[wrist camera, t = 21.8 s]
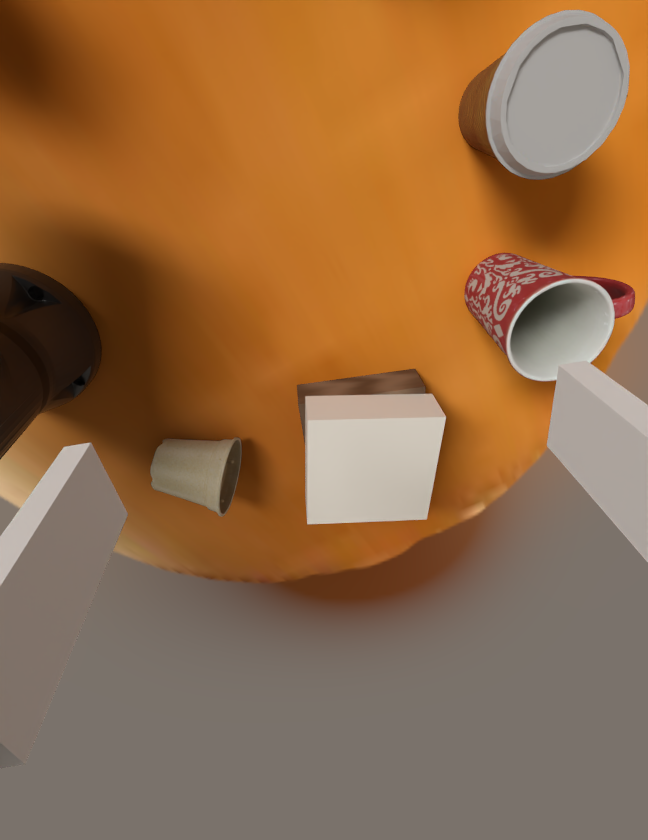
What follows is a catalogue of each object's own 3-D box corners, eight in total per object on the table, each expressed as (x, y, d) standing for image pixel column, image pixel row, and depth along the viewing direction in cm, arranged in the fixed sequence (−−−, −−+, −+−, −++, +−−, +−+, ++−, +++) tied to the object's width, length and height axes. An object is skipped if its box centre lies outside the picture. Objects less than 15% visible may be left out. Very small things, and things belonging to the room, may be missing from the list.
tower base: (312, 475, 61) (314, 500, 57) (297, 383, 54) (298, 404, 49) (414, 460, 61) (424, 484, 57) (414, 367, 54) (425, 386, 49)
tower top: (305, 495, 56) (307, 524, 52) (305, 396, 49) (307, 420, 45) (416, 491, 57) (426, 519, 53) (432, 393, 50) (446, 417, 46)
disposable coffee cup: (539, 162, 43) (620, 169, 33) (440, 178, 43) (489, 190, 33) (553, 32, 38) (653, -8, 28) (440, 50, 38) (498, 17, 28)
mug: (456, 336, 51) (506, 392, 40) (452, 255, 47) (507, 292, 35) (567, 311, 51) (650, 360, 39) (574, 226, 46) (671, 255, 35)
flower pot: (138, 515, 50) (215, 529, 50) (147, 432, 48) (227, 446, 48) (170, 490, 59) (235, 501, 59) (178, 419, 58) (245, 431, 57)
